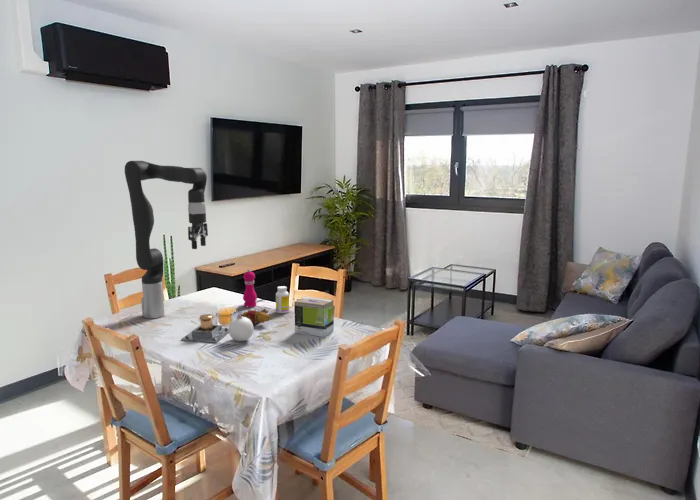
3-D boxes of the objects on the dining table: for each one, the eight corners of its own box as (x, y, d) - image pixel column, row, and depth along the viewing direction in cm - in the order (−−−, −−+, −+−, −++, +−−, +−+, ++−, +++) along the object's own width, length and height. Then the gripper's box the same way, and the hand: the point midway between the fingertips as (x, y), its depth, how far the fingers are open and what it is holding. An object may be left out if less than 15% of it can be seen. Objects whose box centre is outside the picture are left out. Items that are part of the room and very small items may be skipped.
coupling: (181, 340, 211) (180, 333, 210) (198, 328, 226) (198, 321, 226) (216, 343, 208) (216, 335, 207) (231, 330, 223) (231, 323, 223)
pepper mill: (255, 307, 258) (254, 270, 254) (241, 307, 258) (240, 270, 254) (258, 303, 265) (257, 267, 261) (245, 303, 265) (243, 267, 261)
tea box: (334, 330, 223) (334, 299, 221) (323, 338, 214) (323, 305, 212) (305, 326, 230) (304, 295, 227) (294, 332, 221) (293, 300, 218)
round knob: (198, 335, 215) (197, 317, 213) (204, 331, 220) (203, 313, 219) (210, 336, 214) (209, 318, 212) (215, 331, 219) (215, 314, 218)
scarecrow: (239, 331, 224) (238, 314, 222) (237, 319, 239) (236, 303, 237) (277, 327, 228) (276, 311, 226) (272, 316, 243) (272, 301, 242)
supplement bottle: (291, 310, 253) (291, 286, 251) (285, 314, 247) (285, 289, 245) (279, 309, 255) (279, 285, 253) (273, 312, 249) (273, 288, 247)
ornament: (232, 346, 204) (231, 318, 202) (226, 338, 213) (225, 311, 211) (256, 342, 209) (255, 315, 207) (249, 334, 218) (248, 308, 216)
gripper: (196, 210, 232) (198, 244, 235) (181, 213, 219) (183, 249, 221) (211, 210, 231) (213, 245, 234) (197, 214, 217) (199, 250, 220)
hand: (198, 247), depth 228 cm, fingers open, 8 cm apart
